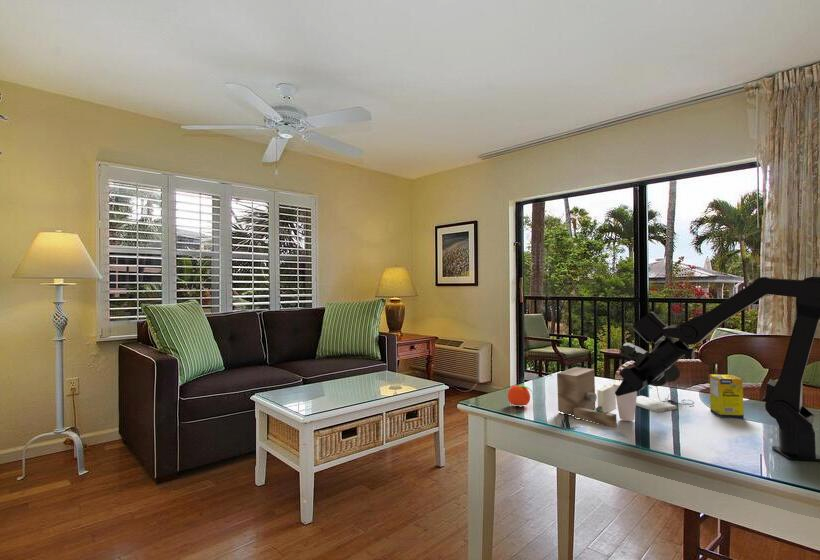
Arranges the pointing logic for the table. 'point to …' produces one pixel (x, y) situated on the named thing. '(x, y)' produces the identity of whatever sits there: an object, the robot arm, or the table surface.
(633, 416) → the smoothie
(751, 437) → the table surface
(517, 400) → the clementine
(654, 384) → the headphones
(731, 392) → the supplement box
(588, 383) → the brown blocky piece
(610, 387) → the cream flat box
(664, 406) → the external hard drive
